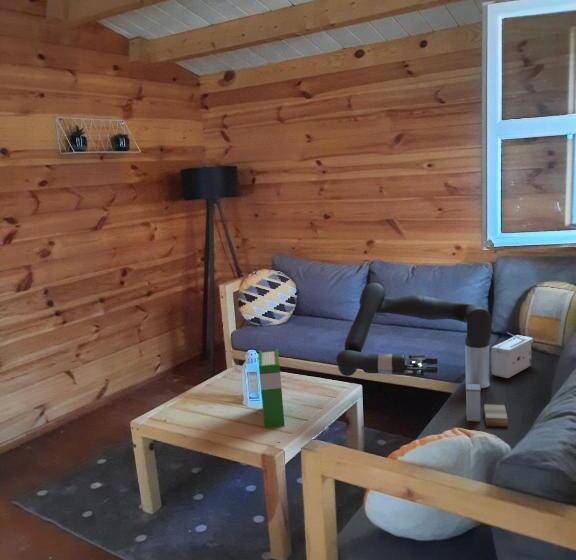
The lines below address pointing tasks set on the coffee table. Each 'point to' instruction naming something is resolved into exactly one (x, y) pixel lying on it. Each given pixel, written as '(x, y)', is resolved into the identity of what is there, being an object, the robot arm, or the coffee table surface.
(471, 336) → the robot arm
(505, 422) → the stand
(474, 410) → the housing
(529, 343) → the stereo radio cassette player
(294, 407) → the coffee table surface
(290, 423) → the coffee table surface
